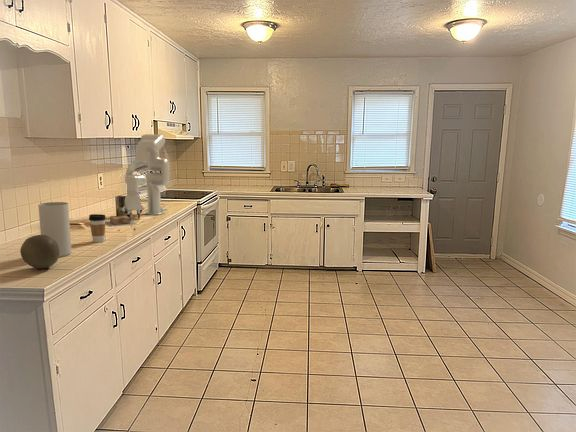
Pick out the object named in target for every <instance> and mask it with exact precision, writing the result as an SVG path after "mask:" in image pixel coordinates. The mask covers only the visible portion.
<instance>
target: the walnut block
mask: <svg viewBox="0 0 576 432" xmlns="http://www.w3.org/2000/svg"><path fill="white" fill-rule="evenodd" d="M109 222H110V223H112V224H113V225H121V224H130V217H128V216H126V215H123V216H116V215H113V216H109Z"/></svg>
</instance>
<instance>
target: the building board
mask: <svg viewBox="0 0 576 432" xmlns="http://www.w3.org/2000/svg"><path fill="white" fill-rule="evenodd" d="M105 225H107V226H108V227H109V228H110V227H121V226H131V225H137V223H136V222H134V220H132V221H131V220H130V224H121V225H113V224H112V223H110V221H105Z"/></svg>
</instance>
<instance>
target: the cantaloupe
mask: <svg viewBox="0 0 576 432" xmlns="http://www.w3.org/2000/svg"><path fill="white" fill-rule="evenodd" d="M19 250H20V256H21V258H22V260H23V261H24V262H25V263H26V264H27V265H28V266H30V267H32V268H34V269H37V270H38V269H39V270H43V269H48V268H50V267H52V266H53V265H55V264H56V263H57V262H58V260H59V258H60V257H59V254H60V251H59V246H58V244H57V242H56V241H55V240H54V239H52V238H51V237H49V236H47V235H41V234H36V235H32V236H30V237H28V238H26V239H25V240H24V241H23V243H22V245H21V246H20V249H19Z"/></svg>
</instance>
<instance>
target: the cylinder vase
mask: <svg viewBox="0 0 576 432" xmlns="http://www.w3.org/2000/svg"><path fill="white" fill-rule="evenodd" d="M37 205H38V216H39V217H38V219H39V228H40V229H39V231H40V235H47V236H49V237H51V238H52V239H54V240H55V241H56V242H57V244H58V246H59V251H60V254H59V258H62V257H63V258H64V257H66V256H68V255H70V254H71V253H72V240H71V239H72V238H71V227H70V211H69V202H64V201H53V202H50V201H49V202H43V203H38V204H37Z"/></svg>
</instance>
